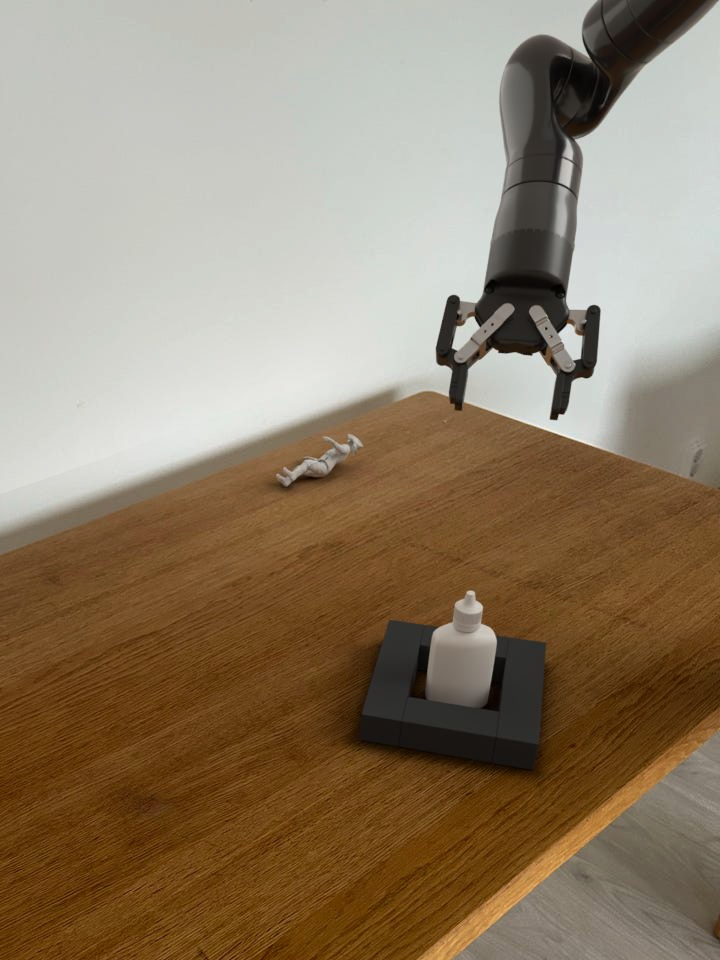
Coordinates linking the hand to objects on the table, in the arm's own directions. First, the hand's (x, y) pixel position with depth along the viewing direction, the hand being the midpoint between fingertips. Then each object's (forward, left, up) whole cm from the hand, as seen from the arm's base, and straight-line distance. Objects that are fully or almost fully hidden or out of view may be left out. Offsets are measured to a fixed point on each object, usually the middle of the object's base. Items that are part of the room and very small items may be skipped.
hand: (506, 412), depth 92 cm
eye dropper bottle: (+1, +15, -23) cm, 27 cm away
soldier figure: (+23, -27, -23) cm, 42 cm away
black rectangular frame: (+1, +15, -22) cm, 27 cm away
